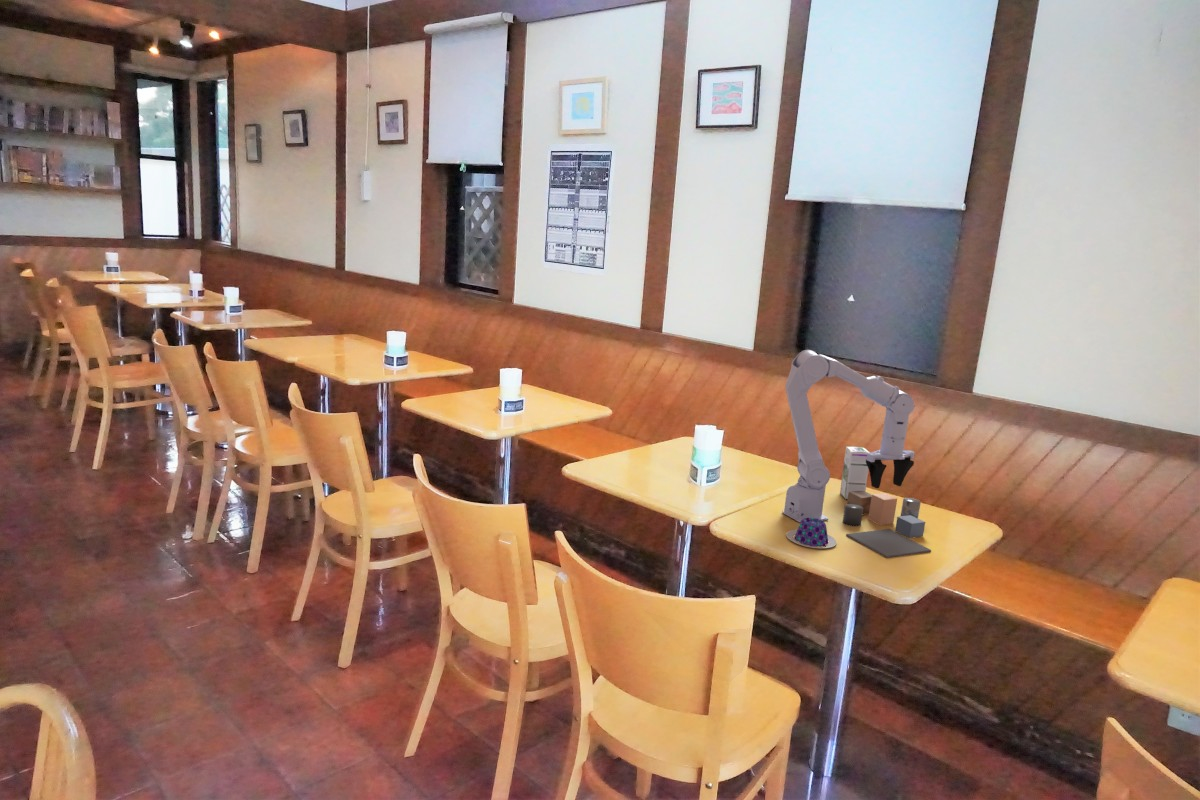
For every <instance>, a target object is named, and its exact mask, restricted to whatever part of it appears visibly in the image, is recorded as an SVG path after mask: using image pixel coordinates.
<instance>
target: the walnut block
mask: <svg viewBox="0 0 1200 800" xmlns="http://www.w3.org/2000/svg"><path fill="white" fill-rule="evenodd" d="M871 497H872V493H870V492H867V491H863V490H862V491H852V492H849V494H848V500H847V502H846V504H855V505H859V506H861V507H863V514H864V515H869V511H870V504H871Z"/></svg>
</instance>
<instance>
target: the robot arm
mask: <svg viewBox="0 0 1200 800" xmlns="http://www.w3.org/2000/svg"><path fill="white" fill-rule="evenodd" d="M824 377H827V378H832V377H838V378H840V379H842V380H843V381H846V382H847V383H850V384H852V385H853V386H855V387H857V388H860V393H861V395H862V396H863V397H865V398H867V399H869V400H871V401H873V402H874V403H876V404H877V405H880V406H881V407H885V410H886V411H885V416H884V421H883V422H884V423H883V429H882V435H881V441H880V447H879V449H878V450H875V451H872V452H870V453H867V459H866V464H867V466H868V473H869V477H870V485H871V487H872V488H875V489H880V487H881V483H882V477H883V474H884V472H885V470H886V469H887V465H886V464H884V463H883V462H884V461H892V462H893V477H892V478H893V479H892V482H893V485H895V486H897V487H902V484H903V482H904V480H905V478H906V476H907V474H908V472H909V471H910V470H911V469H912V468H913V466H914V464H915V461H914V458H915V451H913V450H911V449H910V450H908V449H907V450H906V449H905V444H906V443H905V442H906V439H907V438H906V437H907V431H908V424H909V418H910V417H909V416H910V414H912V413H913V411H914V410H915V407H916V405H915V404H914V399H913V397H912V396H911V395H910V394H908V393H907V392H904V391H903V390H901V389H900V387H899V386H897V385H892V384H890V383H888V382H886V381H885V378H884V377H882V376H880V375H877V376H875V375H872V376H868V377H867V376H866V377H865V375H863V374H861V373H859V372H857V371H856V370H854V369H852V368H851V367H849V366H847V365H845V364H844V363H842V362H840V361H838V360H836V359H834V358H832V357H829V356H828V355H824V354H821V353H818V354H817V353H816V351H814V350H811V349H805V350H801V352H799V353H797V355H796V356H795V357H794V359H793V360H792V361H791V366H790V371H789V373H788V376H787V380H786V381H785V382H786V383H785V386H784V387H785V388H784V389H785V393H786V397H787V403H788V406H789V412H790V415H791V416H790V417H791V421H792V425H793V429H794V434H795V438H796V443H797V447H798V453H797V456H798V463H797V472H798V473H799V476H798V479H797V483H795V484H794V485H791V486H788V487H787V490H786V495H785V502H784V508H783V509H784V510H782V511H781V513H782V514H784V515H786V516H787V517H789V518H791V519H792V520H794V521H797V522H798V523H800V522H801V520H802V519H804V518H816V519H819V520H822V521H828V520H829V517H827V516H825V515H824V514H823V508H824V502H825V494H826V487H827V485H828V483H829V482H830V478H831V472H830V471H829V468H827V467H826V464H825V463H824V459H823V456H822V454H821V452H820V450H819V446H818V440H817V437H816V431H815V427H814V422H813V417H812V412H811V407H810V403H809V400H808V393H807V392H809V390H810V389H811V388H812V386H813V385H814V384H816V383H817V382H819V381H820V380H822V379H823V378H824Z"/></svg>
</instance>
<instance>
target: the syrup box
mask: <svg viewBox="0 0 1200 800" xmlns="http://www.w3.org/2000/svg"><path fill="white" fill-rule="evenodd" d="M867 453H871V451H868V450H867V448H866V447H864V446H862V447H861V446H845V452H844V459H843V467H842V468H843V469H842V475H841V484H840V490H839V493H840V495H841V496H842V497H843V498H844V500H846V499H848V494H849V492H852V491H862V490H863V491H865V492H867V490H866V489H867V484H868V483H867V482H868V475H869V469H868V466H867V464H866V459H867Z"/></svg>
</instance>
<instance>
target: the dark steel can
mask: <svg viewBox="0 0 1200 800" xmlns="http://www.w3.org/2000/svg"><path fill="white" fill-rule="evenodd" d="M921 502H922V501H920V500H919V499H917V498H913V497H904V498H902V505H901V512H900V516H908V515H911V516H913V517H915V518H918V519H919V515H920V509H921Z"/></svg>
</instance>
